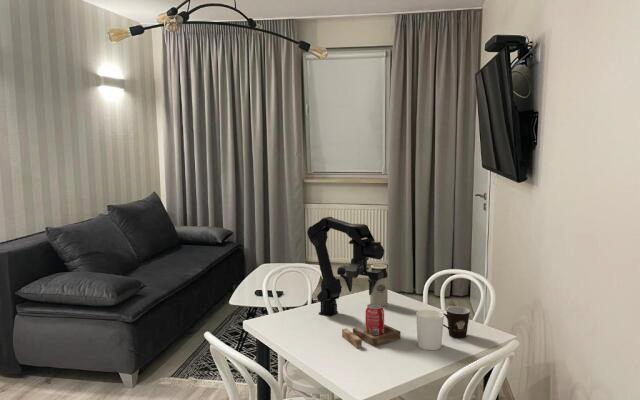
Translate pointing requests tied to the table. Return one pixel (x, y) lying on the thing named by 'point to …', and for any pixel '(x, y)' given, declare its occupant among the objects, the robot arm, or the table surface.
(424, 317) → the candle holder
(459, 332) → the coffee mug
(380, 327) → the soda can
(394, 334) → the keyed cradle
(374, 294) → the travel mug
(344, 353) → the table surface
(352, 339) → the door edge rail
